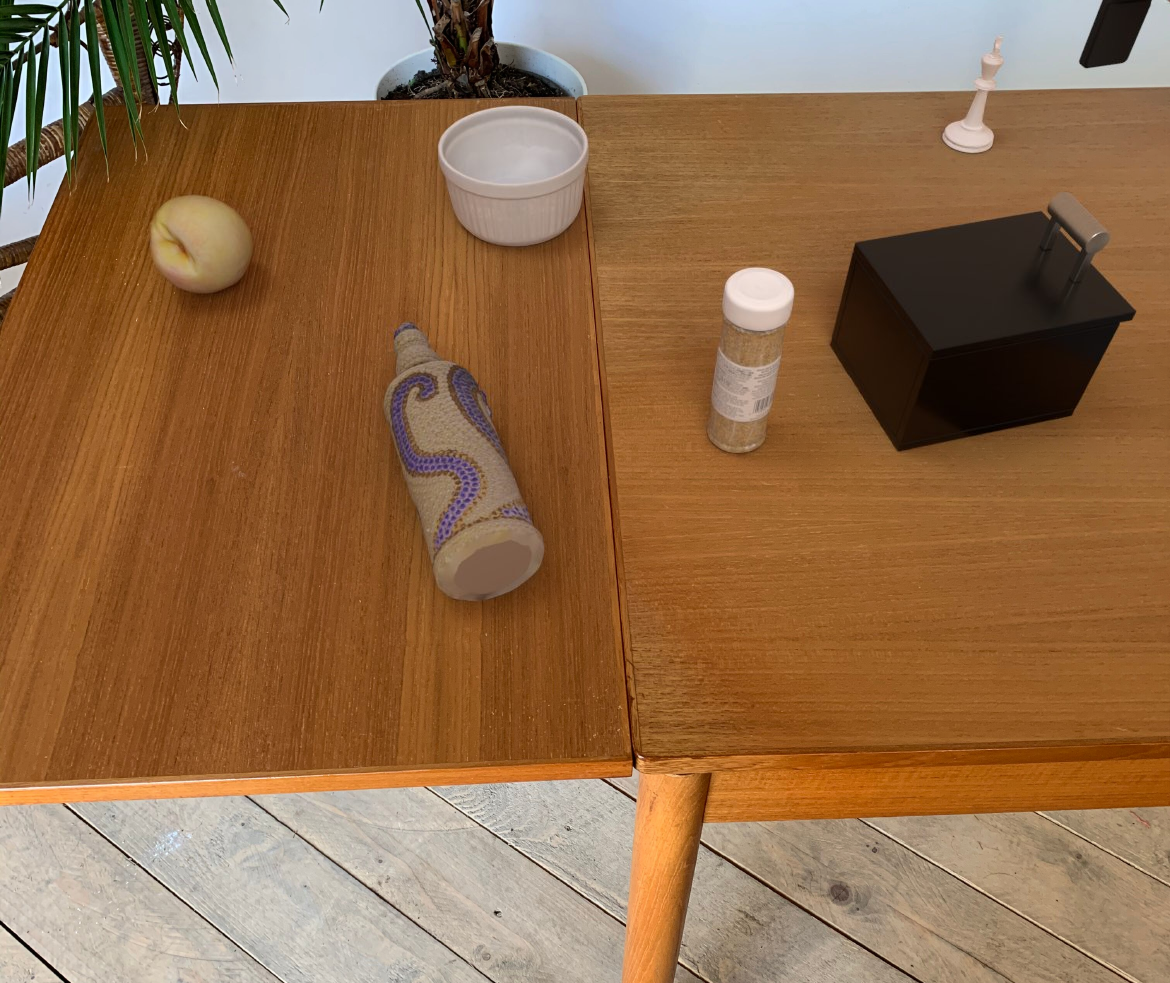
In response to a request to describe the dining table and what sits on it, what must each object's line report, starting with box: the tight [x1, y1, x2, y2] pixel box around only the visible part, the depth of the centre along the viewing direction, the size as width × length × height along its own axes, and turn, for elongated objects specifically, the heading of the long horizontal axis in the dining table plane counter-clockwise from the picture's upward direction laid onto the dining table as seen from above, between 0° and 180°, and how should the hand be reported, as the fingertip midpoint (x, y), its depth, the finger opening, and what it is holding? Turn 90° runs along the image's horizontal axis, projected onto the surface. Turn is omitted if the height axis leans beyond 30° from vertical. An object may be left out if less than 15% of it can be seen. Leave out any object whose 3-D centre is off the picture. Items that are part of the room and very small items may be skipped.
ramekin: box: [437, 105, 590, 247], centre depth 91 cm, size 13×13×7 cm
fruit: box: [149, 194, 254, 294], centre depth 84 cm, size 8×8×8 cm
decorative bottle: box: [382, 321, 545, 602], centre depth 72 cm, size 26×8×7 cm, turn 18°
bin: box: [829, 251, 1121, 452], centre depth 76 cm, size 15×13×9 cm
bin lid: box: [852, 191, 1137, 359], centre depth 71 cm, size 16×13×5 cm
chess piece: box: [941, 35, 1005, 154], centre depth 97 cm, size 5×5×10 cm
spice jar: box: [706, 266, 795, 454], centre depth 71 cm, size 5×5×14 cm
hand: (1146, 101), depth 62 cm, fingers open, 9 cm apart
